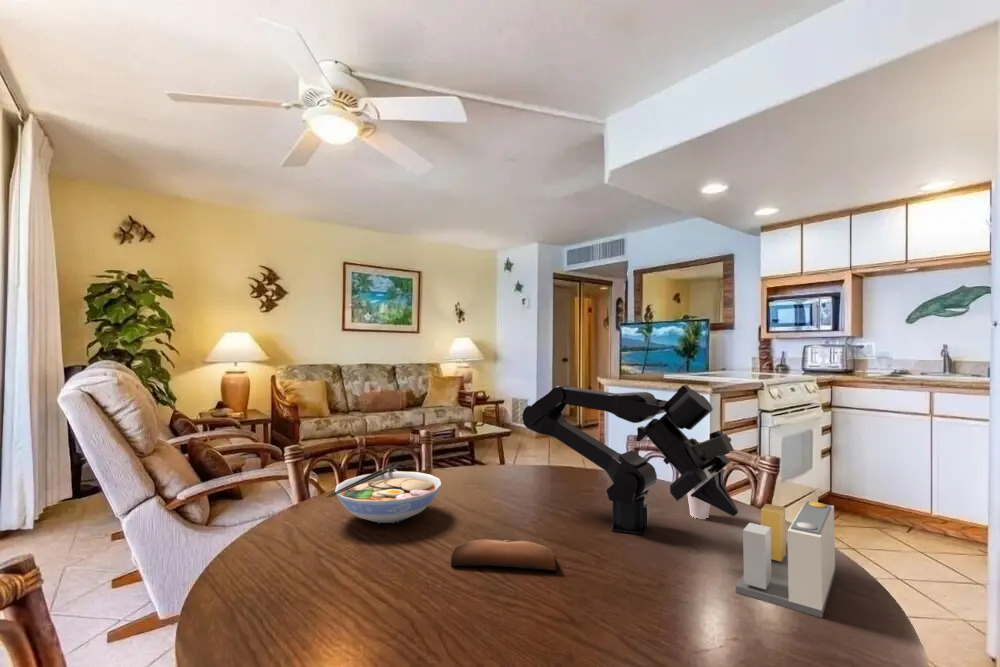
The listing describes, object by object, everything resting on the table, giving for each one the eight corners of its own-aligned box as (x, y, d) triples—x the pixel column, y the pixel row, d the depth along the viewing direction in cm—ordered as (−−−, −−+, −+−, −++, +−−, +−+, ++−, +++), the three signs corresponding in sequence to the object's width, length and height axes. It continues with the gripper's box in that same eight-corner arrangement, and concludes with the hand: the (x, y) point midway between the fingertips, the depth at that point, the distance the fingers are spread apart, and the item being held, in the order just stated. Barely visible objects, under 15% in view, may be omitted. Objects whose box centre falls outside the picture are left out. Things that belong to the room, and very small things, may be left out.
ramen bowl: (405, 547, 92) (405, 503, 92) (306, 532, 99) (306, 491, 100) (460, 506, 115) (460, 471, 115) (377, 496, 123) (377, 463, 123)
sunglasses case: (557, 552, 89) (556, 527, 86) (557, 588, 83) (556, 563, 80) (460, 547, 92) (456, 523, 88) (453, 582, 86) (448, 557, 82)
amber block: (761, 556, 84) (760, 509, 84) (766, 549, 87) (765, 503, 87) (781, 561, 82) (780, 513, 82) (785, 553, 85) (785, 507, 85)
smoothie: (718, 522, 104) (717, 456, 104) (686, 520, 105) (685, 454, 105) (711, 512, 110) (710, 449, 110) (681, 510, 111) (680, 448, 112)
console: (736, 592, 75) (734, 516, 75) (761, 555, 88) (759, 490, 88) (822, 617, 68) (820, 533, 68) (835, 573, 81) (833, 502, 81)
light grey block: (743, 583, 74) (743, 530, 74) (750, 573, 77) (749, 522, 78) (765, 589, 72) (765, 534, 73) (771, 579, 75) (770, 527, 76)
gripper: (686, 424, 85) (758, 501, 77) (718, 412, 99) (781, 476, 92) (643, 463, 89) (707, 539, 82) (679, 447, 104) (736, 510, 97)
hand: (736, 514), depth 88 cm, fingers closed
